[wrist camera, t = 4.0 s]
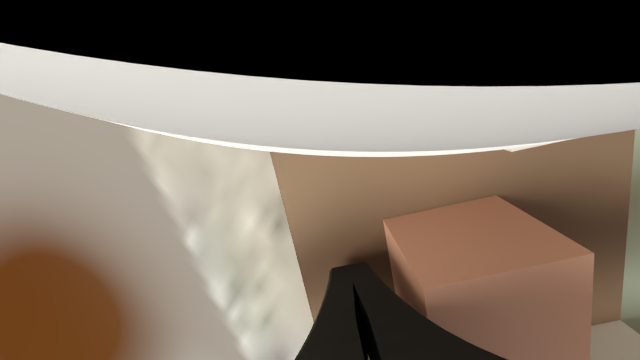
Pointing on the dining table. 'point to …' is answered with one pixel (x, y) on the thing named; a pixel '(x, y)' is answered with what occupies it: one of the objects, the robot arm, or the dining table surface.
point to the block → (495, 278)
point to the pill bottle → (333, 70)
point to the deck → (466, 185)
